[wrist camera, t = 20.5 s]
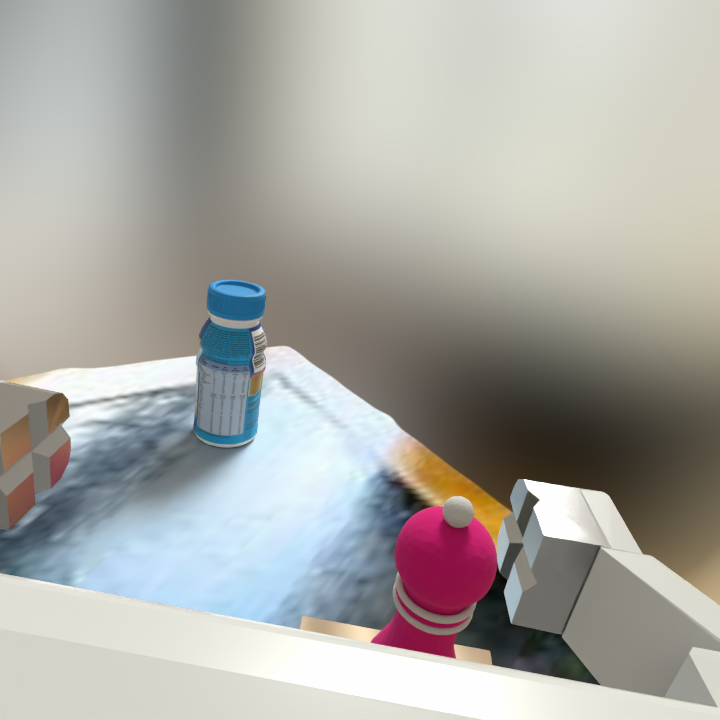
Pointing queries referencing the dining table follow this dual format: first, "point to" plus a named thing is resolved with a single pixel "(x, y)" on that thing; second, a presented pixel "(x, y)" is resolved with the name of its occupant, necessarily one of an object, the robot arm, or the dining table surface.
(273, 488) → the dining table surface
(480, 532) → the pepper mill
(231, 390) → the beverage bottle
